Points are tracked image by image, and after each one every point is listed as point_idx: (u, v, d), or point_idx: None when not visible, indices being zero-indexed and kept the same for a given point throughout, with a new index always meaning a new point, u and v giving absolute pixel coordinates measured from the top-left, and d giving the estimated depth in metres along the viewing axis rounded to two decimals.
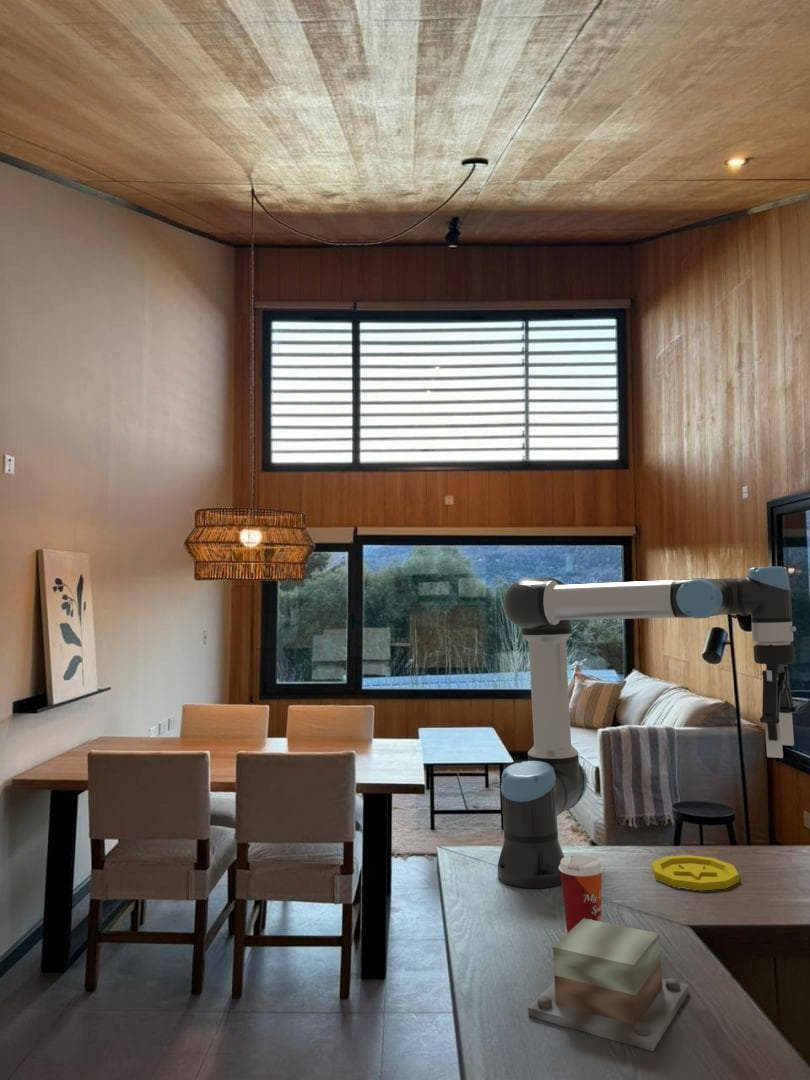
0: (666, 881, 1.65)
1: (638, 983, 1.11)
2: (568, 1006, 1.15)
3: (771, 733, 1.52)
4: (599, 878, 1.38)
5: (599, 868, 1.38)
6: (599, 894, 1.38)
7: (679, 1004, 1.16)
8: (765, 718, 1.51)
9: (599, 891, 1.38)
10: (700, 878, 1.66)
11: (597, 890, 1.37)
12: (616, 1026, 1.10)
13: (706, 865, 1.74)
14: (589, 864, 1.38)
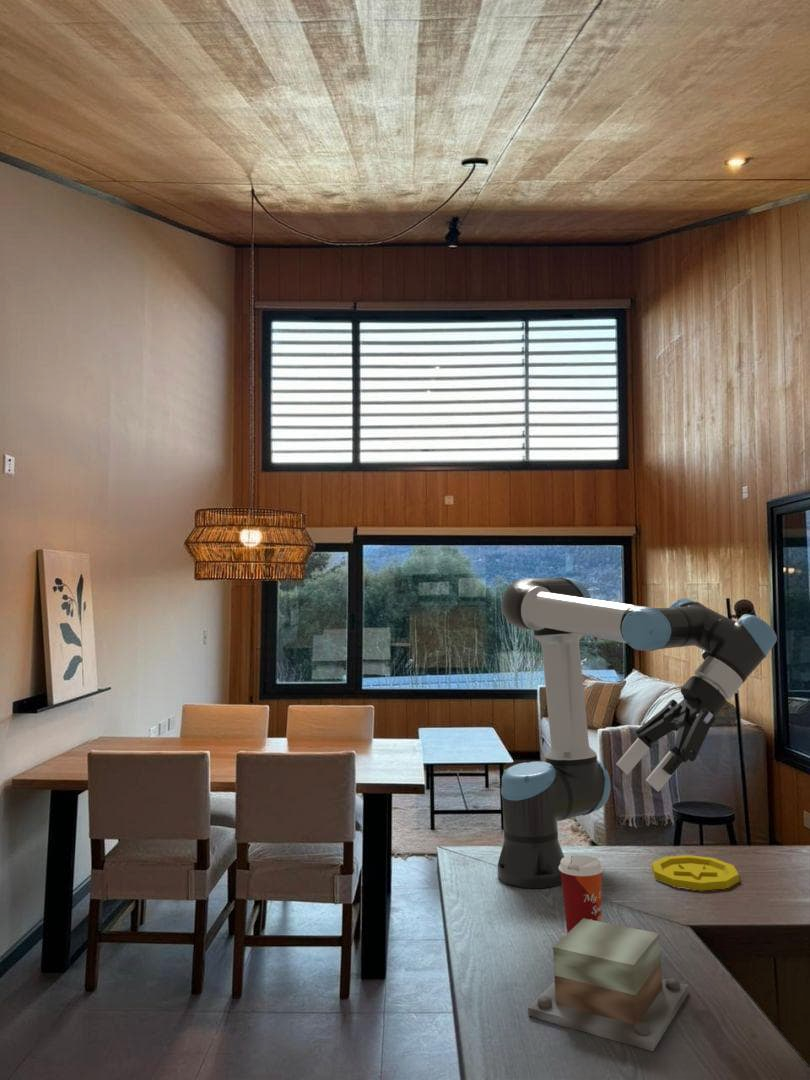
0: (666, 881, 1.65)
1: (638, 983, 1.11)
2: (568, 1006, 1.15)
3: (672, 766, 1.35)
4: (599, 878, 1.38)
5: (599, 868, 1.38)
6: (599, 894, 1.38)
7: (679, 1004, 1.16)
8: (686, 752, 1.33)
9: (599, 891, 1.38)
10: (700, 878, 1.66)
11: (597, 890, 1.37)
12: (616, 1026, 1.10)
13: (706, 865, 1.74)
14: (589, 864, 1.38)
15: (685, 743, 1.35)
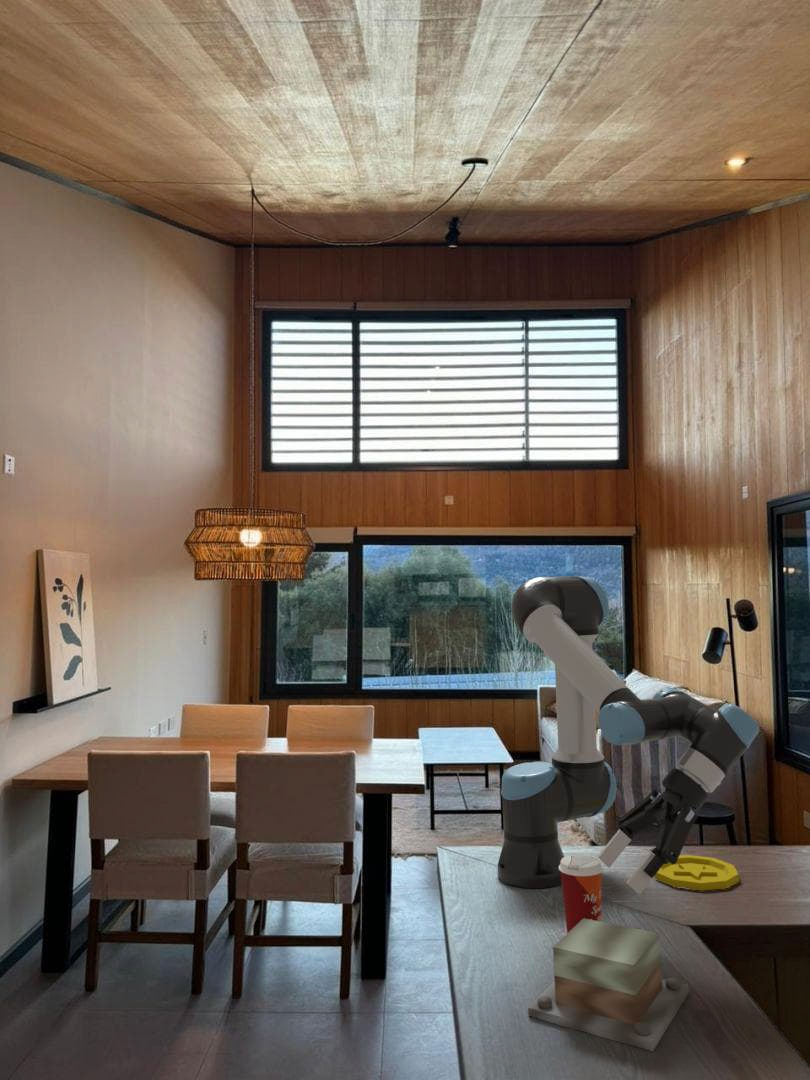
0: (666, 881, 1.65)
1: (638, 983, 1.11)
2: (568, 1006, 1.15)
3: (653, 868, 1.32)
4: (599, 878, 1.38)
5: (599, 868, 1.38)
6: (599, 894, 1.38)
7: (679, 1004, 1.16)
8: (667, 855, 1.30)
9: (599, 891, 1.38)
10: (700, 878, 1.66)
11: (597, 890, 1.37)
12: (616, 1026, 1.10)
13: (706, 865, 1.74)
14: (589, 864, 1.38)
15: (666, 845, 1.32)
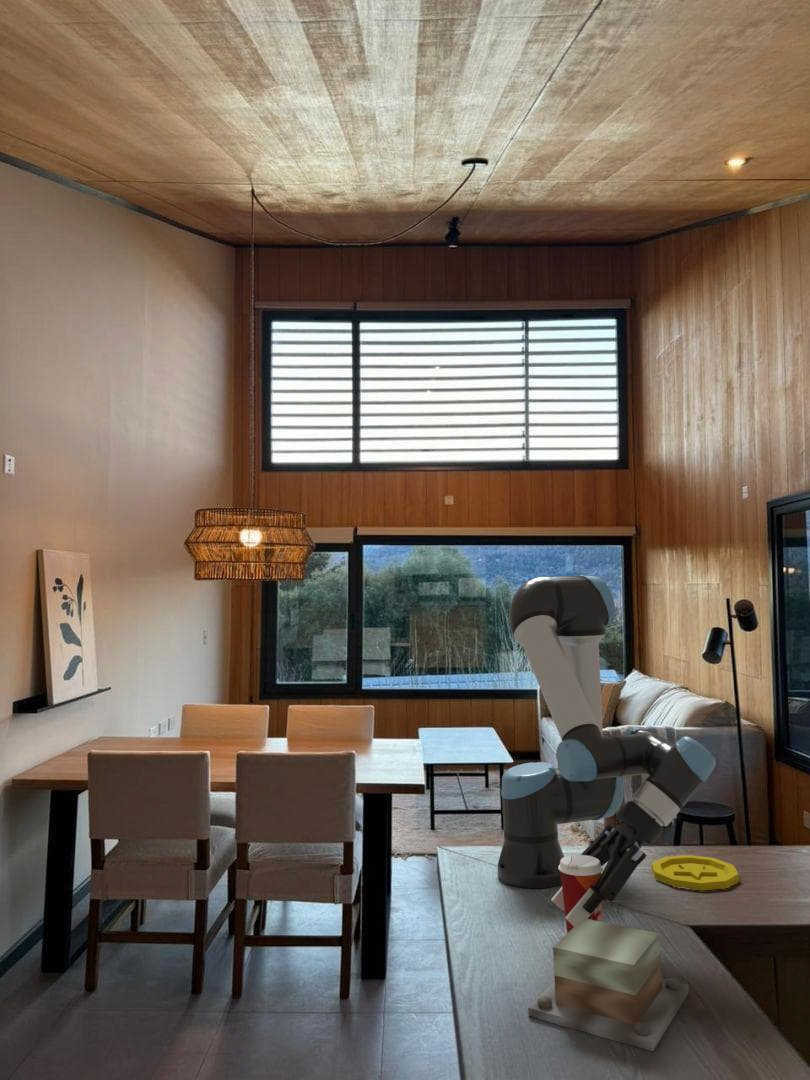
0: (666, 881, 1.65)
1: (638, 983, 1.11)
2: (568, 1006, 1.15)
3: (592, 905, 1.34)
4: (598, 878, 1.38)
5: (599, 868, 1.38)
6: None
7: (679, 1004, 1.16)
8: (605, 892, 1.33)
9: None
10: (700, 878, 1.66)
11: None
12: (616, 1026, 1.10)
13: (706, 865, 1.74)
14: (589, 864, 1.38)
15: (606, 882, 1.34)
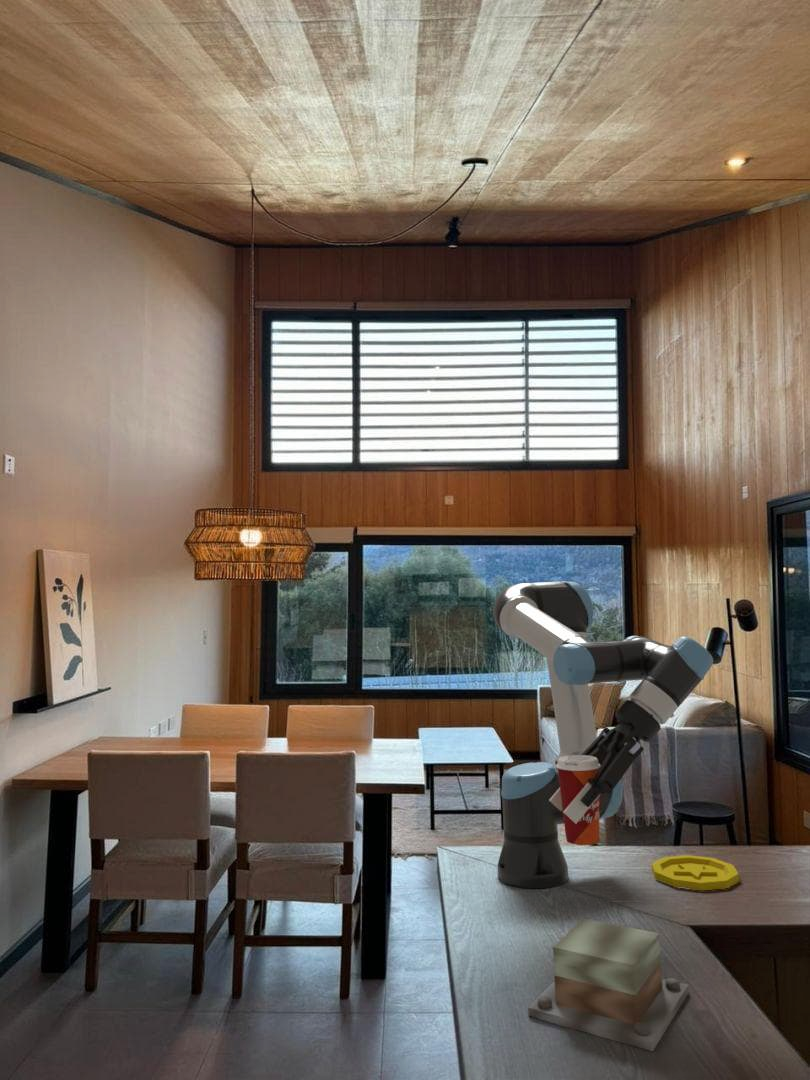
0: (666, 881, 1.65)
1: (638, 983, 1.11)
2: (568, 1006, 1.15)
3: (589, 798, 1.34)
4: None
5: (596, 764, 1.38)
6: None
7: (679, 1004, 1.16)
8: (602, 784, 1.32)
9: None
10: (700, 878, 1.66)
11: None
12: (616, 1026, 1.10)
13: (706, 865, 1.74)
14: (586, 760, 1.38)
15: (603, 775, 1.33)
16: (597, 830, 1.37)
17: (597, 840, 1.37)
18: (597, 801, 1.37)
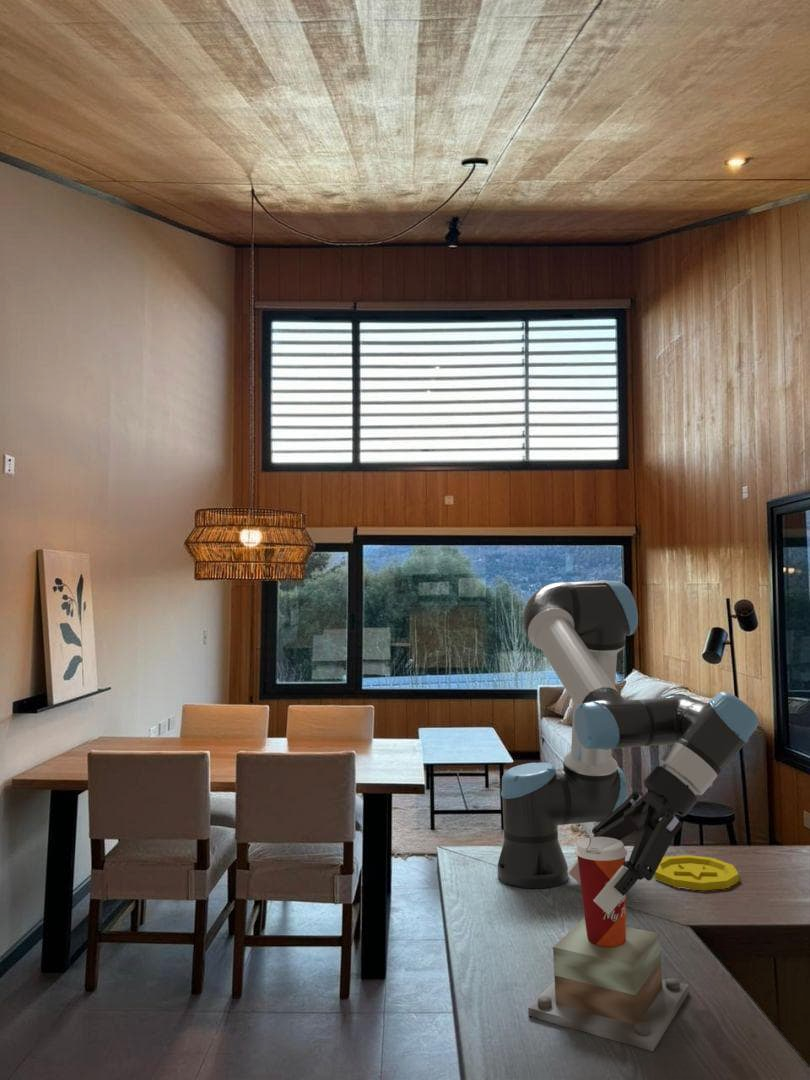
0: (667, 881, 1.65)
1: (638, 983, 1.11)
2: (568, 1006, 1.15)
3: (625, 885, 1.12)
4: (622, 863, 1.17)
5: (623, 851, 1.18)
6: None
7: (679, 1004, 1.16)
8: (641, 869, 1.11)
9: None
10: (700, 878, 1.66)
11: None
12: (616, 1026, 1.10)
13: (706, 865, 1.74)
14: (611, 847, 1.18)
15: (641, 857, 1.12)
16: (624, 929, 1.17)
17: (623, 940, 1.17)
18: None
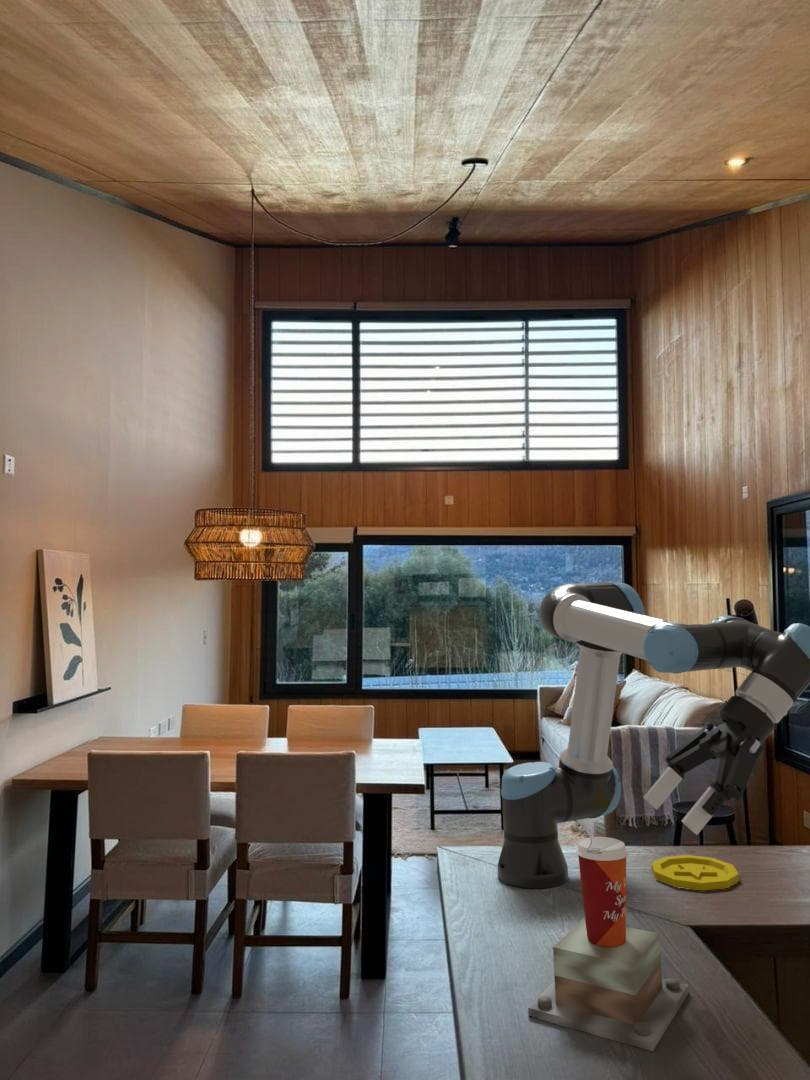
0: (667, 881, 1.65)
1: (638, 983, 1.11)
2: (568, 1006, 1.15)
3: (714, 805, 1.14)
4: (623, 863, 1.18)
5: (624, 851, 1.18)
6: (624, 882, 1.18)
7: (679, 1004, 1.16)
8: (730, 789, 1.12)
9: (624, 878, 1.18)
10: (700, 878, 1.66)
11: (621, 878, 1.17)
12: (616, 1026, 1.10)
13: (705, 865, 1.74)
14: (612, 847, 1.18)
15: (729, 778, 1.14)
16: (624, 929, 1.17)
17: (624, 941, 1.17)
18: (624, 895, 1.18)
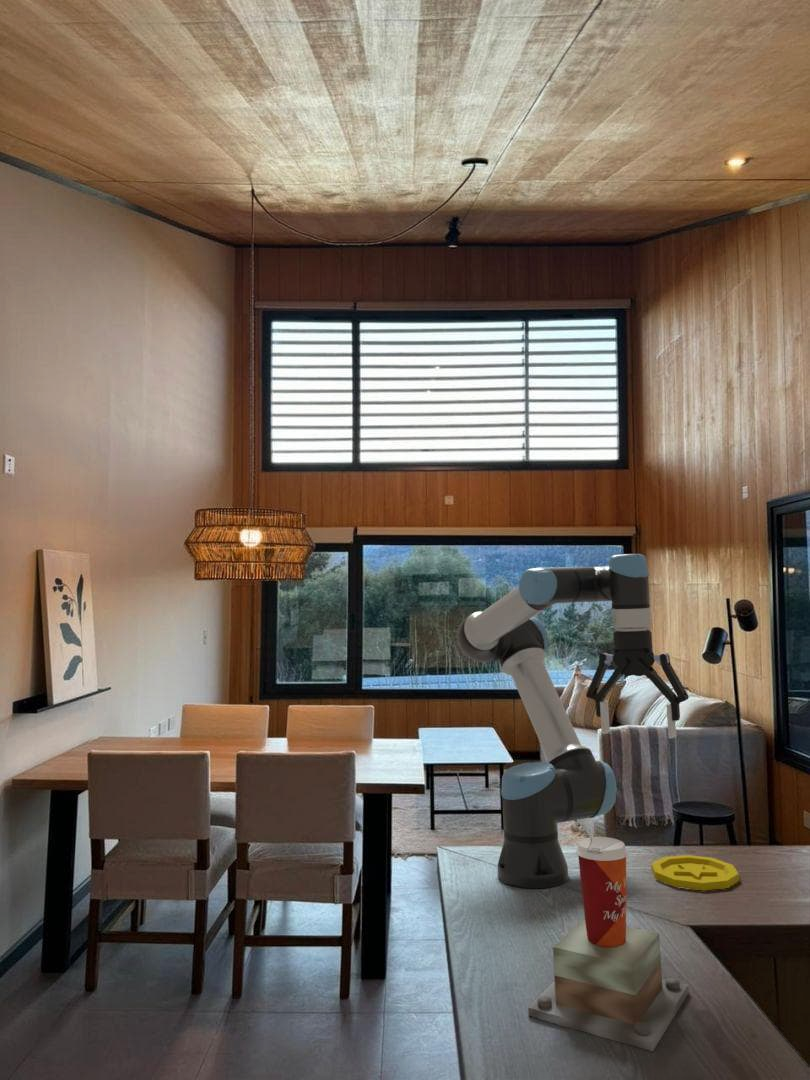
0: (667, 881, 1.65)
1: (638, 983, 1.11)
2: (568, 1006, 1.15)
3: (678, 713, 1.57)
4: (623, 863, 1.18)
5: (624, 851, 1.18)
6: (624, 882, 1.18)
7: (679, 1004, 1.16)
8: (685, 698, 1.56)
9: (624, 878, 1.18)
10: (700, 878, 1.66)
11: (621, 878, 1.17)
12: (616, 1026, 1.10)
13: (705, 865, 1.74)
14: (612, 847, 1.18)
15: (678, 692, 1.56)
16: (624, 929, 1.17)
17: (624, 941, 1.17)
18: (624, 895, 1.18)
